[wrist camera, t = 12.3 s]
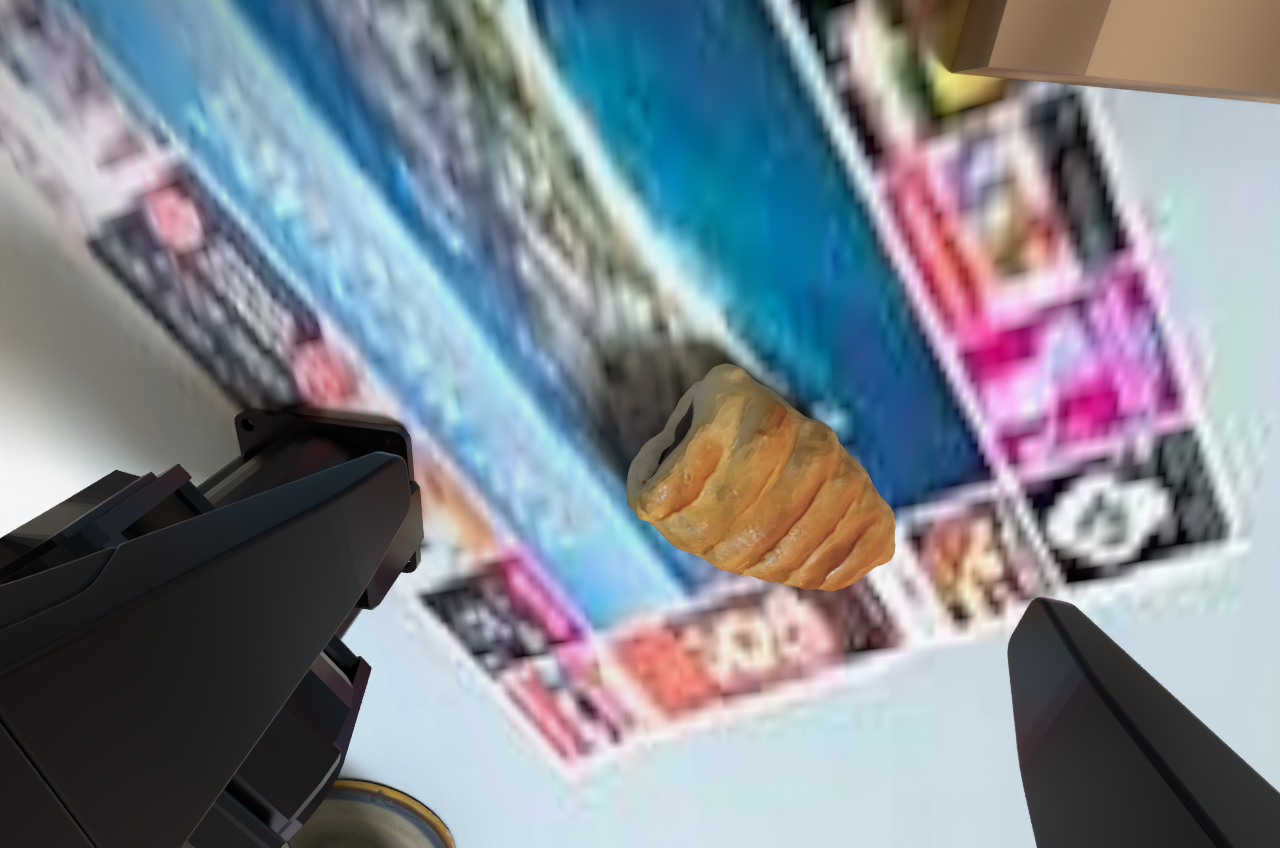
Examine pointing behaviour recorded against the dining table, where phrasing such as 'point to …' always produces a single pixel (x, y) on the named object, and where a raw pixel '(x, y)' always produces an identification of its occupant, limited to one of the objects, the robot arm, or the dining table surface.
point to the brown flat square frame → (1129, 45)
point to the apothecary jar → (370, 821)
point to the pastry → (760, 488)
